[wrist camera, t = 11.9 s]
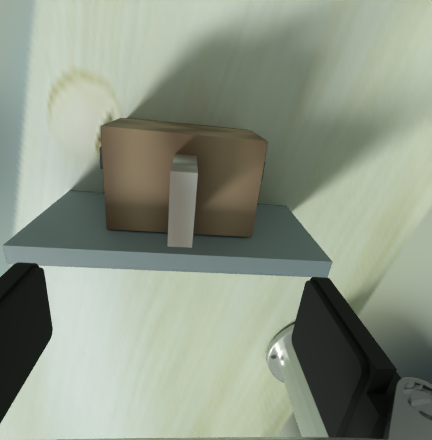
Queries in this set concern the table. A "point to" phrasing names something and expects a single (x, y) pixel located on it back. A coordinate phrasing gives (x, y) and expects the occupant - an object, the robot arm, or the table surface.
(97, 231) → the wall board
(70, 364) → the table surface
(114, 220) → the walnut cabinet
